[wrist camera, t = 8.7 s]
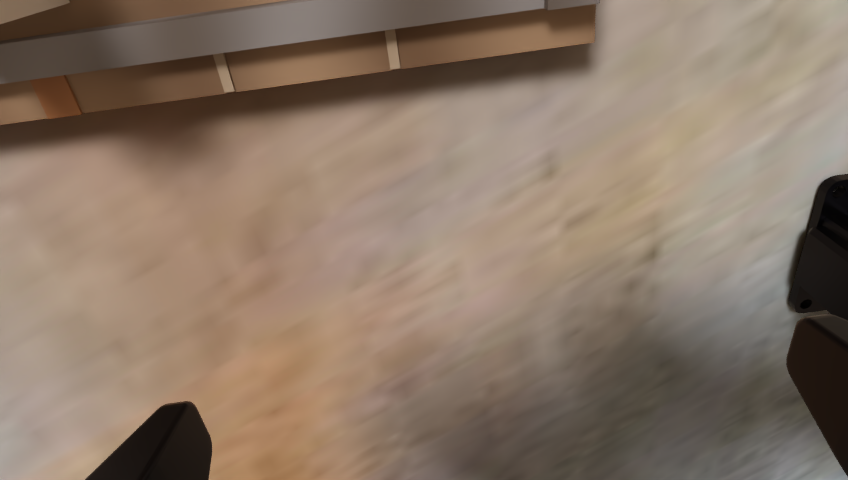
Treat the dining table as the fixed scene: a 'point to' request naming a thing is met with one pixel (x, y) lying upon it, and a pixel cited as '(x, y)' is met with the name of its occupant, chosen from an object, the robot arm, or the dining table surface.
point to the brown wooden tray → (252, 45)
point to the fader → (25, 8)
